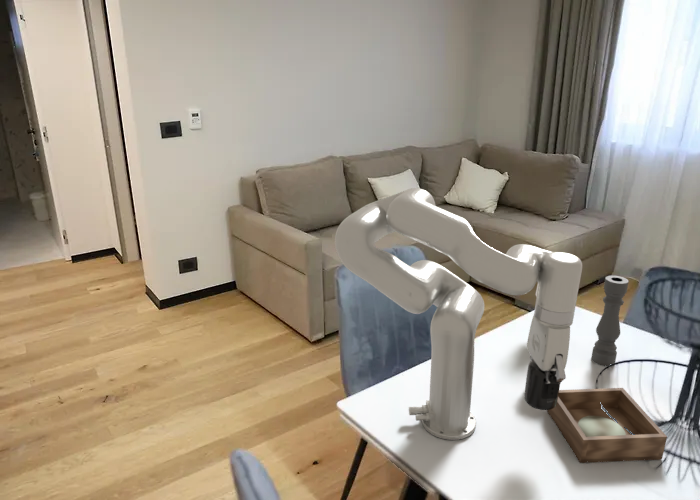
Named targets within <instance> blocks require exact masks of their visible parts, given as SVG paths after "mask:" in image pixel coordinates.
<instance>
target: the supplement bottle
mask: <svg viewBox="0 0 700 500" xmlns="http://www.w3.org/2000/svg"><path fill="white" fill-rule="evenodd" d="M530 361H531V360H530ZM530 361H529V363H528V366H527V372H526V378H525V386H524V387H525V388H524V396H523V399H524V401H525V403H526V404H527V405H528V406H529V407H531V408H532V409H536V410H538V411H539V410H540V411H547V410H551V409H553V408H554V407H555V406H556V405H557V400H558V394H559V390H560V386H561V383H560V384H559V389H558V394H557V398H556V399H542V397H541V393H542V387H543V381H546V380H545V371H542V370H541V369H540V368H539V367H538V365H537V364H536V362H535V361H534V360H532V361H531V362H530ZM551 368H555V365H552V367H551ZM555 375H556V371H550V377H552V376H555Z"/></svg>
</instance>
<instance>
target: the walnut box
mask: <svg viewBox="0 0 700 500" xmlns="http://www.w3.org/2000/svg"><path fill="white" fill-rule="evenodd" d="M600 402H601V404H602V405H603V407H604V408H605V409H606V410H607V411H608V413H609V414H610V415H611V416H612V417H613V418H615V419H616V420H617V422H618V423H616V422H615V421H614V420H613V419H612V418H610V417H609V416H608V415H607V414H606V412H604V411H603V410H602V409H601V404H600ZM546 412H547V414H548V415H549V417H550V418H551V420H552V422H553V423H554V424H555V427H556V428H557V429H558V431H559V433H560V434H561V436H562V437H563V439H564V441H565V442H566V443H567V445H568V447H569V448H570V450H571V451H572V453H573V455H574V456H575V458H576V459H577V461H578V462H579V464H585V463H586V464H592V463H616V462H618V463H619V462H637V461H638V462H639V461H662V459H663V455H664V452H665V447H666V444H667V439H668V436H667V435H666V434H665V432H663V430H662V429H661V428H660V427H659V426H658V424H656V422H655V421H654V420H653V419H652V418H651V417H650V416H649V415H648V414H647V413H646V411H644V410H643V408H642V407H641V406H640V405H639V404H638V403H637V402H636V401H635V400H634V399H633V397H632V396H631V395H630V394H629V393H628V392H627V390H625V388H624V387H611V388H608V387H607V388H606V387H605V388H582V389H559V394H558V400H557V405H556V406H555V407H554V408H553V409H551V410H546ZM624 427H625V428H627V429H628V430H629V431H631V432H632V433H633V434H635V435H632V434H630V433H629V432H628V431H627V430H626V429H625V428H624Z"/></svg>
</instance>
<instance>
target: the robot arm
mask: <svg viewBox="0 0 700 500" xmlns="http://www.w3.org/2000/svg"><path fill="white" fill-rule="evenodd" d="M395 232H396V233H398V234H401V235H402V236H405V237H407V238H409V239H411V240H413V241H415V242H418V243H420V244H422V245H423V246H426V247H428V248H430V249H433V250H435V251H437V252H439V253H442V254H443V255H445V256H447V257H449V258H450V259H451V261H453V262H454V263H455V264H456V266H458V267H459V268H460V269H461V270H463V271H464V272H465V273H466V274H467V275H469V276H470V277H471V278H473V279H474V280H476V281H477V282H479V283H481V284H483V285H485V286H488V287H489V288H492V289H494V290H497V291H498V292H501V293H504V294H507V295H511V296H523V295H525V294H528V293H530V291H532V290H533V289H534V287H535V285H536V284H537V285H538V291H537V297H536V299H535V306H534V313H533V316H532V319H531V323H530V326H529V327H530V328H529V330H528V331H529V332H528V337H527V342H526V350H527V352H528V354H529V359H530V361H529V363H530V362H531V361H532V360H534V361H535V362H536V364H537V365H538V367H539V368H540V369H541V370H542V371H545V380H546V381H543V387H542V393H541V397H542V399H556V398H557V394H558V389H559V390H560V388H559V384H560V385H561V383H562V382H563V381H564V380H566V379H567V377H566V371H565V369H566V366H567V361H568V357H569V350H570V340H571V326H572V325H573V323H574V318H575V317H574V316H575V310H576V306H577V302H578V301H577V300H578V294H579V289H580V288H579V287H580V283H581V279H582V278H581V277H582V271H583V262H582V260H581V258H579V257H578V256H576V255H574V254H572V253H568V252H564V251H563V252H562V251H551V250H547V249H543V248H540V247H537V246H534V245H531V244H526V243H525V244H524V243H522V244H521V243H520V244H514V245H512V246H511V247H510V248H508V249H507V251H506V253H503V252H501V251H499V250H497V249H495V248H493V247H491V246H489V245H488V244H486V243H485V242H483V241H482V240H481V239H480V238H479V237H478V236H477V234H476V233H475V231H474V229H473V227H472V226H471V224H470V223H469V221H468V220H467V219H466V218H464V217H463V216H460V215H458V214H455V213H453V212H450V211H448V210H446V209H443V208H442V207H439V206H437V205H436V202H435V199H434V197H433V195H432V194H431V193H430V192H429V191H427V190H425V189H423V188H421V187H420V188H419V187H412V188H408V189H406V190H403V191H400V192H397V193H395V194H392V195H389V196H386V197H384V198H383V197H382V198H381V199H379V200H376V201H373V202H370V203H367V204H366V205H363V206H362V207H361V208H359V209H357V210H356V211H354V212H352V213H351V214H349V215H348V216H347V217H345V218H344V219H343V220H342V221H341V222H340V224H339V225H338V226H337V229H336V232H335V236H334V246H335V247H334V248H335V251H336V254H337V257H338V258H339V260H340V262H341V263H342V265H343V266H344V267H345V268H346V269H347V270H349V271H350V272H351V273H352V274H353V275H355V276H356V277H358V278H360V279H362V280H363V281H365V282H367V283H368V284H369V285H371V286H372V287H374V288H375V290H377V291H378V292H380V293H381V294H383V295H384V296H386V297H387V298H388V299H390V300H391V301H392V302H394V304H396V305H398V306H399V307H401V308H402V309H403V310H405V311H406V312H408V313H411V314H416V315H420V314H423V313H426V311H428V310H429V309H430V308H431V306H433V305H434V306H435V307H437V308H436V310H435V312H434V313H433V316H432V319H431V321H430V330H429V332H430V340H431V341H430V342H431V352H430V353H431V355H430V357H431V359H430V376H429V377H430V380H429V382H430V383H429V398H428V399H429V400H426V401H425V404H422V405H421V406H409V407H408V415H409V416H415V421H421V425H422V426H423V428H424V429H425V430H426V431H427V432H428V433H430V434H431V435H432V436H434V437H437V438H440V439H444V440H450V441H451V440H452V441H454V440H455V441H457V440H462V439H465V438H468V437H469V436H471V435H472V434H473V433H474V431H475V430H476V428H477V427H476V426H477V421H476V418H475V415H474V414H473V413H472V412H471V404H472V390H473V378H474V366H475V365H474V364H475V338H476V334H477V329H478V327H479V325H480V321H481V319H482V317H483V315H484V312H485V301H484V299H483V297H482V295H481V293H479V291H477V289H475V288H474V287H473V286H472V285H470V284H469V283H467V282H466V281H465V280H463V279H462V278H460V277H459V276H458V275H456V274H454V273H453V272H452V271H450V270H449V269H447V268H446V267H445V266H443V265H441V264H439V263H438V262H435V261H432V260H428V259H421V260H418V261H415V262H413V263H412V264H411V265H409V264H407V263H406V262H404V261H402V260H401V259H400V258H398V257H397V256H396V255H394V254H392V253H390V252H388V251H386V250H382V249H381V248H380V249H379V248H378V247H376V245H375V244H376V243H377V242H378V241H379V240H381V239H383V237H385V236H387V235H389V234H393V233H395ZM552 365H555V368H551V367H552ZM550 371H556V375H555V376H552V377H550Z"/></svg>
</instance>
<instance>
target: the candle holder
mask: <svg viewBox="0 0 700 500" xmlns="http://www.w3.org/2000/svg"><path fill="white" fill-rule="evenodd" d="M628 287H629V279H627V278H626V277H623V276H620V275H608V276H605V278H604V283H603V290H604V294H605V296H604V297H603V298H602V301H603V303H604V308H603V313H602V315H601V317H600V319H599V321H598V324H597V327H596V328H595V333H596V334H597V340H596V341H595V342H594V346H592V347H593V348H592V351H591V352H592V353H591V358H590V359H591V361H592V362H593V363H595V364H597V365H598V366H601V367H610V366H609V365H610V364H614V363H615V364H616V359H617V356H618V355H617V354H618V352H617V345H616V344H615V342H616V340H619V337H620V335H621V326H620V325H621V324H620V310H621V306H623V305H624V303H625V301H624V300H623V298H624V296H625V295H626V294H627V292H628ZM615 364H614V365H615Z"/></svg>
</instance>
